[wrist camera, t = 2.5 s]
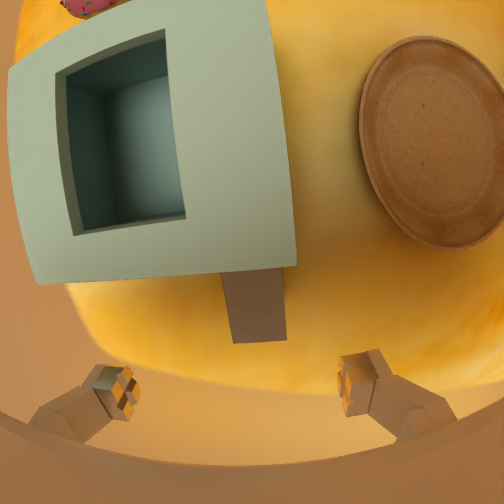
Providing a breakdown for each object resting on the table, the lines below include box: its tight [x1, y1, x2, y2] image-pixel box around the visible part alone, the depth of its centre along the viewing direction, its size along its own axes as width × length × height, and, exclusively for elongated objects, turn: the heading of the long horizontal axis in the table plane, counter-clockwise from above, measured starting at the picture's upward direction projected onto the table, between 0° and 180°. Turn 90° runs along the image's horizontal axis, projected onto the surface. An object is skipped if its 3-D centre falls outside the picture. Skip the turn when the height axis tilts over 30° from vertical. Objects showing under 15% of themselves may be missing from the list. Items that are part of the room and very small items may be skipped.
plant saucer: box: [359, 36, 504, 251], centre depth 15 cm, size 15×15×3 cm
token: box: [221, 267, 287, 344], centre depth 17 cm, size 3×5×5 cm, turn 7°
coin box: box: [7, 0, 297, 285], centre depth 13 cm, size 12×11×9 cm
